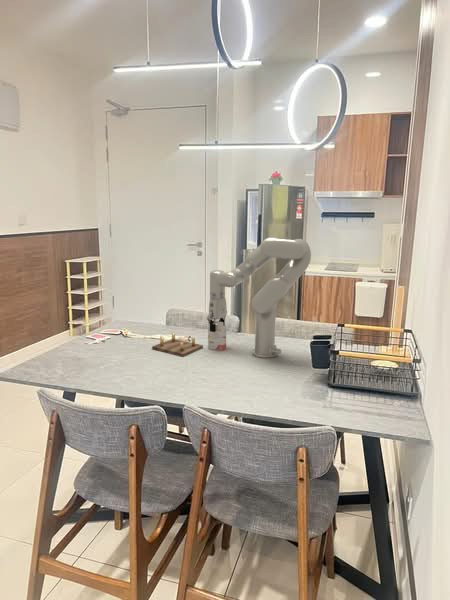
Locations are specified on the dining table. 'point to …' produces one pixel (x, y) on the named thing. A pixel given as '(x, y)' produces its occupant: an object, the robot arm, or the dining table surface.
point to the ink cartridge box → (217, 337)
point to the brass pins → (174, 341)
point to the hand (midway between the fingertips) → (217, 329)
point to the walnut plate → (177, 347)
